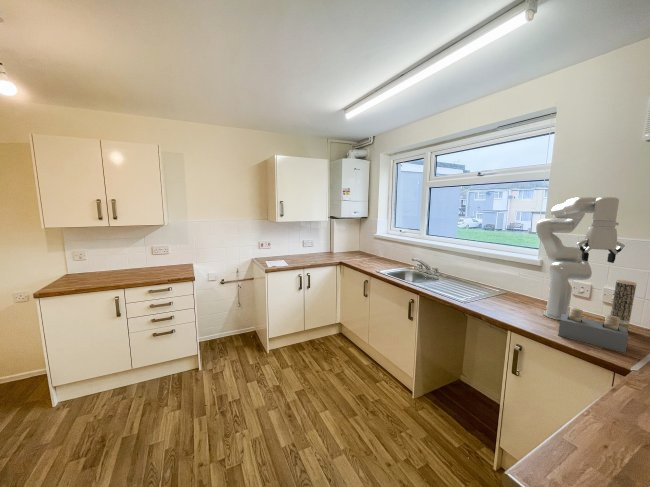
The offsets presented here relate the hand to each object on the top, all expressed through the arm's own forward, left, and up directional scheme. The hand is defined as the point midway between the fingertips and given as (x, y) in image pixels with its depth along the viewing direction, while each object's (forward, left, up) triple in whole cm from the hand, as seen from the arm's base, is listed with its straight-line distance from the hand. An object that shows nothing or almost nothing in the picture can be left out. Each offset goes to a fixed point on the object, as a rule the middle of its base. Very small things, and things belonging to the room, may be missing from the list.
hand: (597, 261), depth 126 cm
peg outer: (+7, +5, -32) cm, 33 cm away
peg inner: (+1, -6, -32) cm, 32 cm away
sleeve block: (+4, -1, -37) cm, 37 cm away
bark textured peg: (-14, +22, -37) cm, 45 cm away
